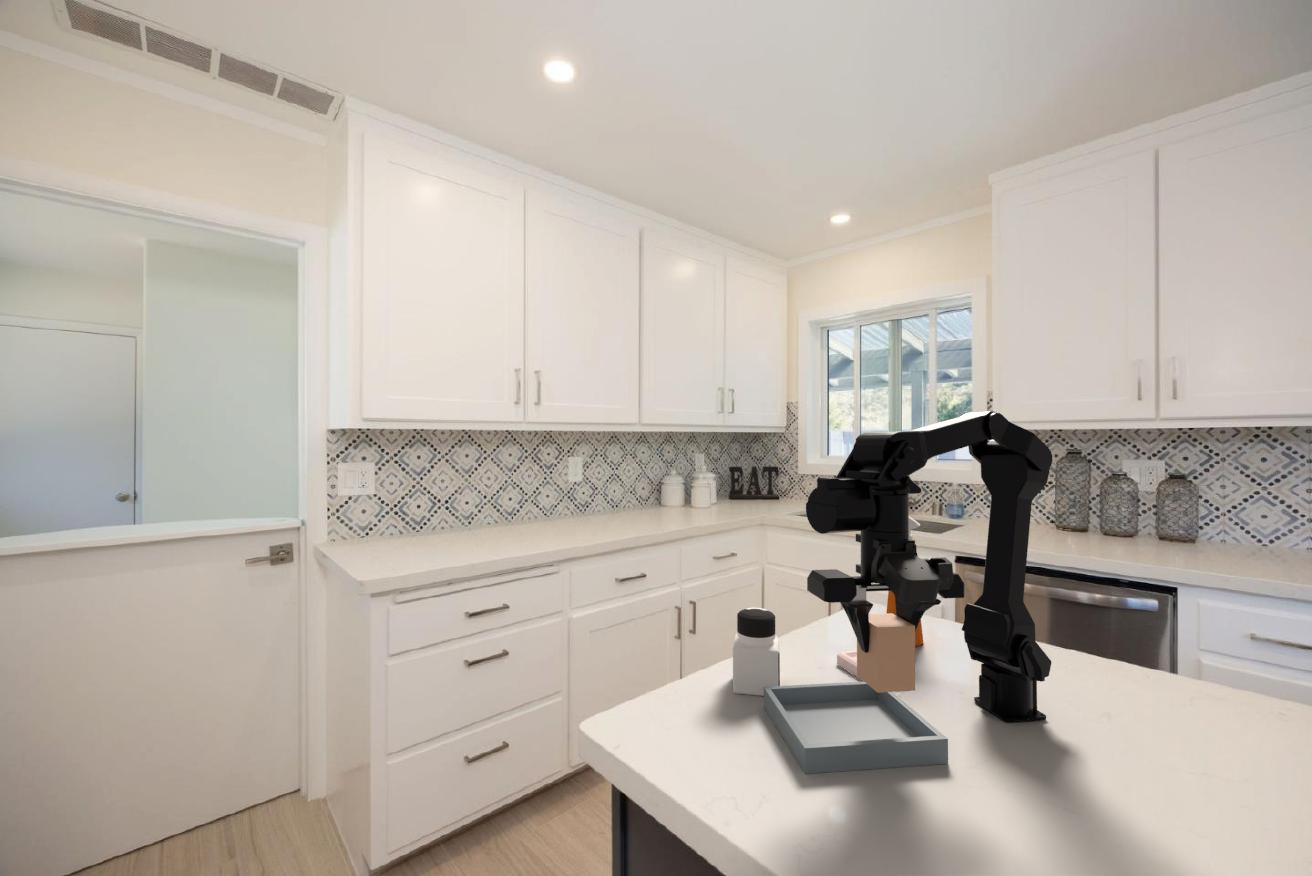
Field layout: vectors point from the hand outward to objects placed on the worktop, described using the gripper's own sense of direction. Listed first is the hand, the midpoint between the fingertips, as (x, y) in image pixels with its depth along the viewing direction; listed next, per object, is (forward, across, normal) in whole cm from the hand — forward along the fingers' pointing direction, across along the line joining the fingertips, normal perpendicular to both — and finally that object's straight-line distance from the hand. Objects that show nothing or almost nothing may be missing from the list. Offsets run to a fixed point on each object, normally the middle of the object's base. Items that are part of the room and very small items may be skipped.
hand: (884, 650), depth 69 cm
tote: (+12, -3, +4) cm, 13 cm away
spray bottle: (+12, +23, +35) cm, 43 cm away
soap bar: (+13, +9, +21) cm, 27 cm away
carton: (+4, 0, 0) cm, 4 cm away
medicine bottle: (+12, -11, +19) cm, 25 cm away
